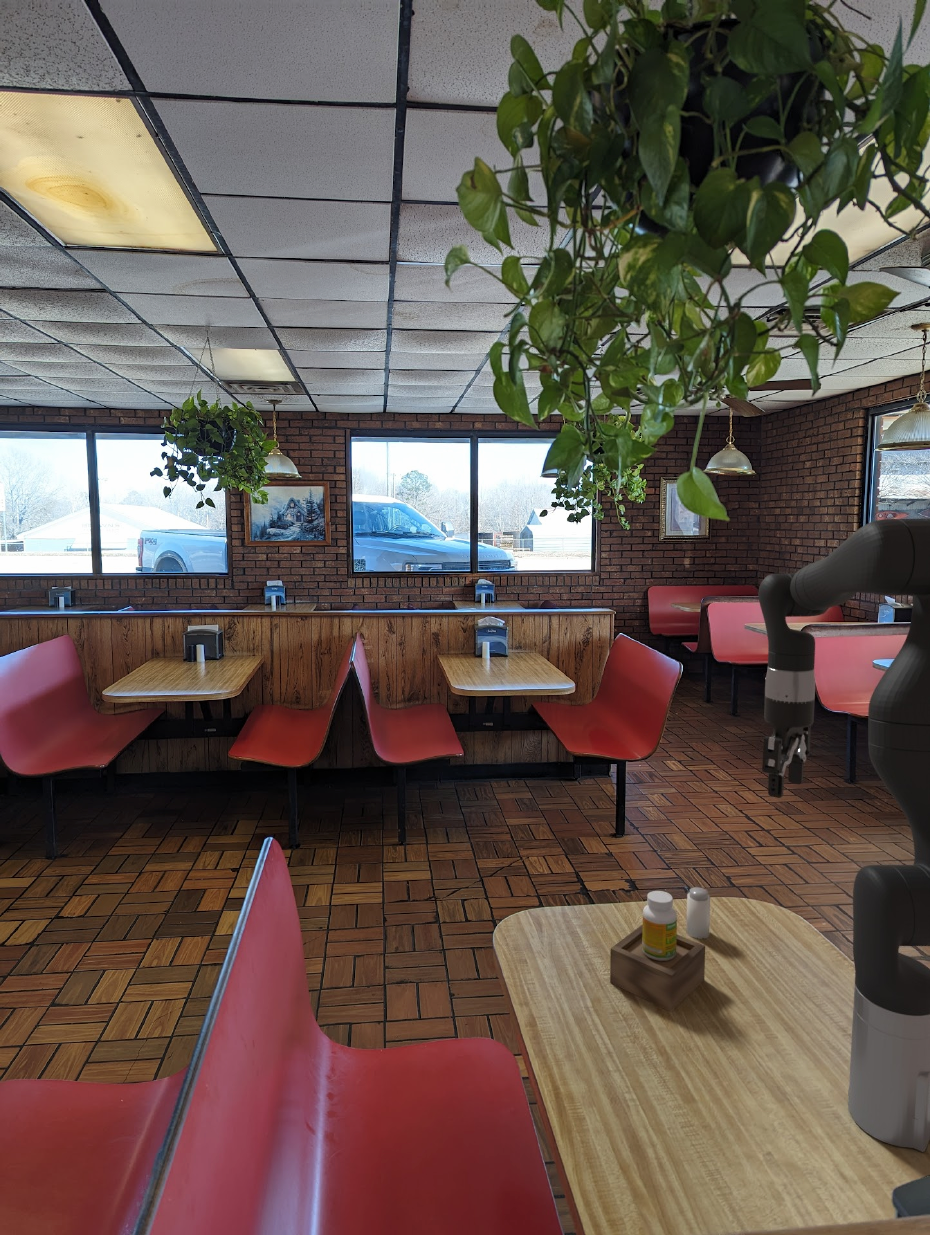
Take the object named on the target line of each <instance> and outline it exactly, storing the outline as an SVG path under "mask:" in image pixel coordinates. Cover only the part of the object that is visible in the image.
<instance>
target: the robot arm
mask: <svg viewBox="0 0 930 1235" xmlns="http://www.w3.org/2000/svg"><path fill="white" fill-rule="evenodd" d="M857 593H860V594H861V593H862V594H875V595H880V596H886V597H887V596H891V597H893V596H912V609H911V610H912V612H911V620H910V626H909V629H908V631H907V635H906V638H905V641H903V644H902V646H901V648H900V649H899V652H898V653H897V654H896V656H895V658H894V659H893V661H892V662H891V663H890V664H889V666H888V668H887V669H886V670H885V672H884V673H883V675H882V676H881V678H880V680H879V682H878V683H877V685H876V686H875V688H874V690H873V692H872V694H871V697H870V700H869V704H868V713H867V716H868V717H867V718H868V719H867V720H868V721H867V722H868V726H867V727H868V728H867V733H868V738H867V739H868V742H867V743H868V755H869V756H868V757H869V759H870V761H871V765H872V766H873V767H874V770H875V772H876V773H877V775H878V777H879V778H880V779H881V781H882V783H883V784H884V786H885V787H886V789H887V790H888V791H889V793H890V794H891V796H892V797H893V799H894V800H895V802H896V803H897V805H898V806H899V807H900V809H901V810H902V812H903V814H904V816H905V818H906V820H907V823H908V825H909V827H910V831H911V834H912V835H911V836H912V841H913V850H914V851H913V852H914V853H913V854H914V860H913V864H870V865H865V866H862V867H861V868H860V869H859V870H858V871H857V873H856V875H855V878H854V883H853V888H852V889H853V890H852V930H853V931H852V937H853V938H852V954H853V955H852V956H853V963H854V964H853V965H854V972H855V975H854V988H853V989H854V990H853V991H854V993H853V1008H852V1009H853V1010H852V1027H851V1043H850V1044H851V1045H850V1046H851V1047H850V1062H849V1064H850V1066H849V1081H848V1082H849V1083H848V1084H849V1085H848V1095H847V1096H848V1102H847V1105H848V1106H847V1107H848V1111H849V1114H850V1117H851V1118H852V1120H853V1121H854V1122H855V1123H856V1124H857V1125H858V1127H860V1128H861V1129H862V1130H863V1131H864V1132H865V1133H867V1134H868V1135H870V1136H871V1137H873V1138H874V1139H876V1140H879V1141H881V1142H883V1143H886V1144H889V1145H891V1146H894V1147H899V1148H910V1149H915V1150H917V1151H919V1152H922V1153H924V1152H925V1151H926V1150H927V1147H928V1144H929V1143H930V968H929V967H928V966H927V965H925V964H924V963H922V962H921V961H919V960H917V959H916V958H913V957H911V956H909V955H906V954H904V953H901V952H899V951H900V950H899V949H900V947H930V518H884V519H877V520H874V521H870V522H868V523H866V524H864V525H862V526H861V527H860V528H857V530H856V531H854V532H853V533H852V534H851V535H850V536H849V537H848V538H847V539H846V540H844V541H843V542H842V543H841V544H840V545H838V546H837V547H836V549H834V550H832V552H831V553H830V554H829V555H827V556H825V557H824V558H822V559H819V560H817V561H814V562H812V563H809V564H808V565H805V566H804V567H802V568H800V569H799V570H798V571H797V572H795V573H794V572H793V573H789V572H788V573H770V574H768V575H766V576H765V577H764V579H763V580H762V581H761V583H760V585H759V588H758V601H759V602H758V603H759V606H760V610H761V613H762V617H763V621H764V623H765V630H766V634H767V635H766V636H767V644H768V646H767V648H768V649H767V650H768V651H767V652H768V654H767V672H766V675H765V683H764V685H765V686H764V709H763V710H764V713H763V714H764V716H763V718H764V719H763V720H764V721H765V722H766V723H768V724H771V725H772V726H773V732H772V734H771V736H770V735H765V736H764V737H763V750H762V764H761V766H762V768H761V771H762V772H763V773H766V774H768V781H767V782H768V787H767V794H768V796H770V797H771V798H772V797H774V798H777V799H781V798H782V797H783V796H784V789H785V788H784V787H785V786H784V785H785V784H784V782H785V772H786V768H787V766H788V776H787V780H788V782H789V783H791V784H795V785H801V784H802V783H803V782H804V764H805V762H806V761H807V757H809V756H810V754H811V735H812V734H811V733H812V732H811V730H812V729H811V728H812V725H813V724H814V721H815V719H814V718H815V697H816V696H815V695H816V678H815V676H816V674H815V657H816V656H815V655H816V639H815V636H814V635H813V634H811V633H809V632H806V631H803V630H797V629H793V628H790V627H789V625H788V623H787V619H786V618H788V617H789V618H791V617H792V618H793V617H794V618H797V617H798V618H799V617H801V618H802V617H803V618H804V617H806V618H807V617H818V616H822V615H824V614H826V612H827V611H829V609H830V608H833V607H836V606H839V605H842V604H844V603H846V602H848V601H850V600H851V599H853V597H854V596H855V595H857Z"/></svg>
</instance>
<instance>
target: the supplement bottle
mask: <svg viewBox="0 0 930 1235" xmlns="http://www.w3.org/2000/svg"><path fill="white" fill-rule="evenodd" d="M673 901H674V898H673V896H672V895H671V894H670V893H669V892H666V891H662V890H653V891H650V892H648V893H647V901H646V903H647V904H646V905H645V906H644V908H643V910H642V924H643V934H642V950H643V952H644V954H645V955H646V956H647V957H649V958H651V959H654V960H658V961H668V960H671V959H673V958H674V957H675V955H676V940H677V935H678V932H677V931H678V930H677V928H678V915H677V911H676V910H675V907H673V903H674V902H673Z"/></svg>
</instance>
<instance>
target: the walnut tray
mask: <svg viewBox="0 0 930 1235" xmlns="http://www.w3.org/2000/svg"><path fill="white" fill-rule="evenodd" d="M642 934H643V923H642V924H641V925H640V926H638V927H637V928H636V929H634V930H633V931H631V932H630V933H629V934H628V935H626V936H625V937H624V938H623V939H621V940H619V941H618V942H616V944H615V945H613V946H612V947H610V954H609V956H610V960H609V961H610V964H609V965H610V967H609V970H610V973H609V974H610V976H609V978H610V980H609V983H610V984H612V985H614V986H616V987H618V988H620V989H623V990H625V991H627V992H629V993H631V994H633V995H636V996H638V997H639V998H641V999H643V1000H645V1001H648V1002H650V1003H652V1004H654V1005H656V1006H658V1007H661V1008H662V1009H665V1010H666V1011H668V1012H671V1013H672V1011H674V1010H675V1009H676V1008H678V1006H679V1005H680V1004H681V1003H682V1002H684V1000H685V999H686V998H687V997H688V996H690V994H691V993H693V991H695V990H696V989H697V988H698V986H700V985H701V984H702V983H703V982H704V981H705V972H706V968H705V966H706V945H704V944H701V943H700V942H697V941H695V940H692V939H689V938H687V937H684V936H682V935H679V934H677V940H676V955H675V957H674V958H673V959H671V960H668V961H658V960H654V959H651V958H649V957H647V956H646V955H645V954H644V952H643V950H642Z"/></svg>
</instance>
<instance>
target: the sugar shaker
mask: <svg viewBox="0 0 930 1235" xmlns="http://www.w3.org/2000/svg"><path fill="white" fill-rule="evenodd" d="M686 899H687V900H686V934H687V935H688V934H689V935H688V936H689V937H691V938H693V939H697V938H698V939H699V940H702V938H704V939H707V938H708V937H709V936H710V924H711V923H710V922H711V921H710V919H711V918H710V917H711V896H710V895H709V891H708V889H705V888H703V887H700V886H699V887H698V886H696V887H695V886H694V887H692V888H690V889H689V892H687V896H686ZM698 939H697V940H698Z"/></svg>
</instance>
